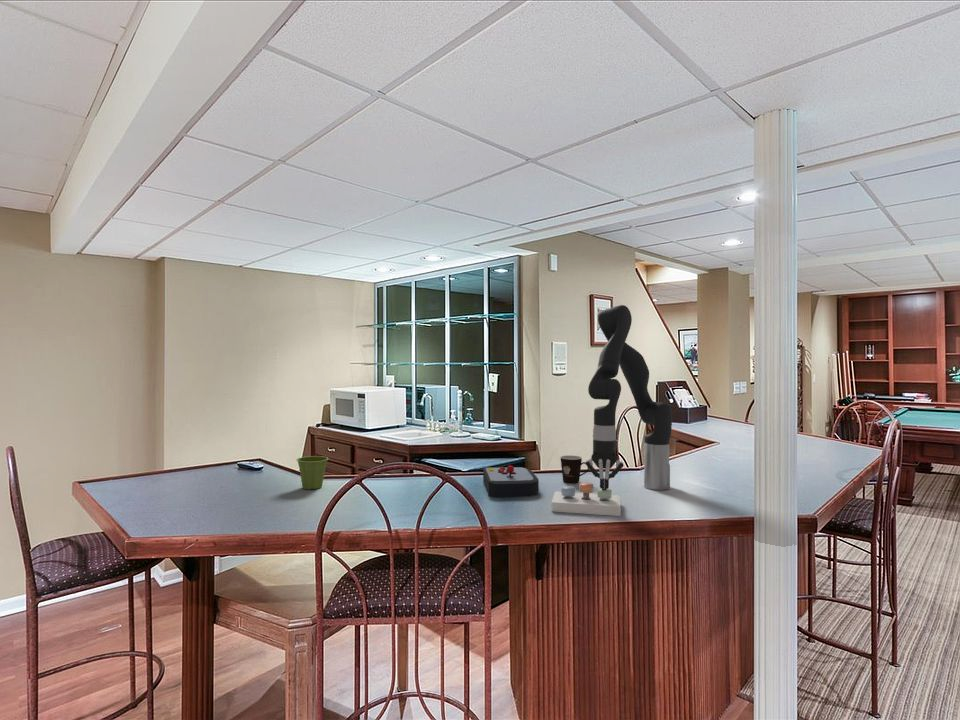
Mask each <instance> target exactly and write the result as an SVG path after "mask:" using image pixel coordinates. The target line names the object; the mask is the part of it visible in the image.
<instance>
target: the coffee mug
mask: <svg viewBox="0 0 960 720" xmlns="http://www.w3.org/2000/svg"><path fill="white" fill-rule="evenodd" d="M559 459H560V464H561V465H560V467H561V474H562V476H561V477H562V482H563V483H564V484H567V485H575V484H576V485H577V484H579V483H580V478H581V477H582V476H583V475H585V474H587V473H588V471H589V470H590V469H589V468H588V467H587V469H586V470H585V471H584V472H583V473H581V469H582V465H586V461H582V460H583V457H582V456H578V455H571V454H570V455H561V456H560V458H559Z"/></svg>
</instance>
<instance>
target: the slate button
mask: <svg viewBox="0 0 960 720" xmlns="http://www.w3.org/2000/svg"><path fill="white" fill-rule="evenodd" d="M560 492H561V495H562V496H565V499H571V496H575V493H576V487H575V486H571V485H570V486H569V485H562V486H561V491H560Z"/></svg>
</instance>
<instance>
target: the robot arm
mask: <svg viewBox="0 0 960 720" xmlns="http://www.w3.org/2000/svg"><path fill="white" fill-rule="evenodd" d="M632 318H633V317H632V313H631V310H630V309H629V307H628V306H627V305H623V304H619V305H617V306H616V305H615V306H613V307H609V308H606V309H602V310H601V311H599V312H598V314H597V321H598V326H599V328H600V329H601V331H602V334H603V335H604V337H605V338H606V339H605V340H607V343H605V345H604V346H603V348H602V350H601V352H600V354H599V357H598V364H597V368H596V371H595V373H594V374H593V376H592V378H591V379H590V381H589V383H588V395H589V396H590V398H591V399H593V400H603V401H604V400H605V401H609V402H608V403H607V404H606V405H601V406H597V407H595V408H594V410H593V430H592V455H591V456H590V458H589V459H588V460H586V461H585V463H586V464H585V466H586V467H587V469H588V468H589V470H590V472H591V473H592V474H593V476H594V477H595V478H598V479H599V488H602V490H606V489H610V487H609V485H610V484H609V482H610V481H609V480H610V479H613V478H615V477H616V475H617V474H618V473H619V472H620V471H621V469H622V468H623V467H624V462H623V461H620V460H619V458H618V456H617V429H616V413H617V411H616V410H617V406H618V402H619V399H620V395H621V392H622V385H621V383H620V381H619V380H618V379H617V378H616V377H617V375H618V373H619V370H620V369H621V372H622V374H623V376H624V378H625V380H626V383H627V385H628V388H629V390H630V391H631V394H632V397H633V399H634V402H635V405H636V408H637V412H638V414H639V417H640V420H641V421H642V422H643V423H644V424H646V425H650V426H653V431H652V432H651V433H648V434H645V435H644V439H643V440H644V441H643V442H644V443H643V449H644V450H643V453H644V455H643V457H644V458H643V463H644V466H643V468H644V471H643V472H644V473H643V477H644V478H643V484H644V485H643V486H644V487H645V489H650V490H655V491H664V490H670V489H671V463H670V440H671V436H672V427H673V426H672V425H673V411H672V408H671V406H670V404H668V403H667V402H661V401H653V398H652V397H651V396H650V393H649V390H648V386H649V385H648V384H649V379H650V370H649V367H648V365H647V363H646V360H645V358H644V356H643V355H642V354H641V352H639V351H638V350H636V349H635V348H634V347H632V346H630V345H629V344H628V343H627V342H626V341H627V338H628V335H629V333H630V329H631V326H632ZM619 367H620V368H619ZM594 465H595V466H596V467H597V468H598V471H599V472H598V471H597V470H596V469H595V467H594ZM614 465H615V468H614V469H613V470H612V471H611V472H610V469H612V467H614ZM604 469H605V472H604ZM644 487H643V488H644Z"/></svg>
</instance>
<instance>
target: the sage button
mask: <svg viewBox="0 0 960 720" xmlns="http://www.w3.org/2000/svg"><path fill="white" fill-rule="evenodd" d="M596 491H597V492H596V494H597V497H598V498H601V501H608V499H610V498H612V495H613V493H612V489H610V488H608V489H606V490H602V488H600V487H599V488H597V490H596Z"/></svg>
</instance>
